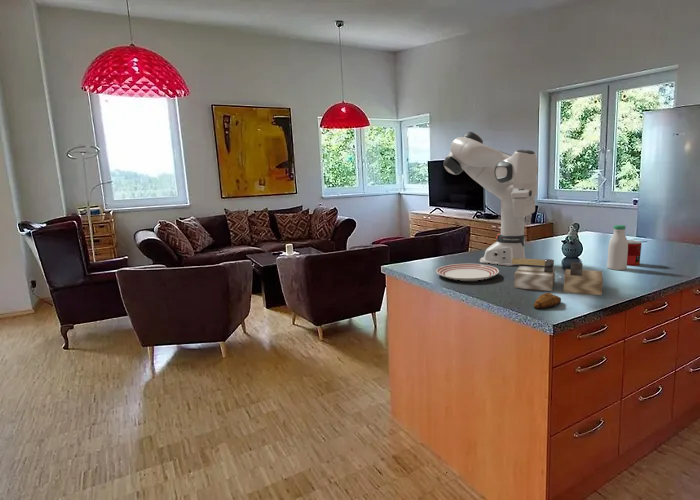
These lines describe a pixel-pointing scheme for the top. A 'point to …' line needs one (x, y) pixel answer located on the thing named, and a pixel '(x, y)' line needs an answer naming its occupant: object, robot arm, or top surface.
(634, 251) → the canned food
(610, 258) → the milk bottle
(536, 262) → the latch bar
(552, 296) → the croissant
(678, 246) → the top surface
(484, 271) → the dinner plate
